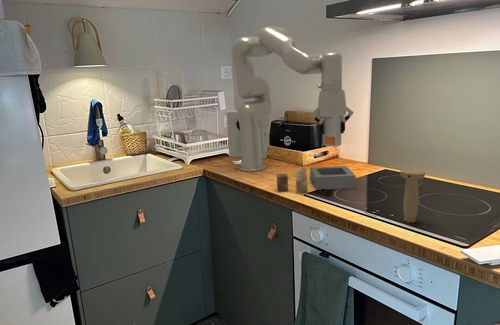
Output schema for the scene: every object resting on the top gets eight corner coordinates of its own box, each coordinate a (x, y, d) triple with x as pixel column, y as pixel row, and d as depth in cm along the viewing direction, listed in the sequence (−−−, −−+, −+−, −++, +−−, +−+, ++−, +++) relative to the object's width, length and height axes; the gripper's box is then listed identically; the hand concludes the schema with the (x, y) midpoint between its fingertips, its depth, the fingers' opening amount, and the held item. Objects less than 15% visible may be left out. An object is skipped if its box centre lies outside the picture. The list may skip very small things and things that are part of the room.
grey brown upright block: (297, 194, 141) (296, 170, 138) (295, 190, 144) (295, 168, 142) (307, 193, 140) (307, 170, 138) (306, 190, 144) (306, 167, 142)
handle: (402, 216, 115) (404, 168, 111) (424, 220, 111) (427, 171, 107) (395, 221, 111) (397, 172, 108) (418, 226, 107) (421, 175, 104)
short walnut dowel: (277, 192, 144) (277, 176, 143) (277, 188, 148) (276, 174, 147) (288, 191, 144) (287, 176, 143) (287, 188, 148) (286, 173, 147)
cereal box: (270, 156, 205) (268, 110, 200) (263, 159, 199) (261, 111, 193) (236, 153, 216) (233, 110, 210) (229, 156, 210) (226, 111, 204)
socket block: (315, 189, 144) (315, 177, 143) (310, 179, 159) (310, 167, 158) (355, 188, 144) (355, 175, 143) (346, 177, 158) (346, 165, 157)
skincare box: (322, 145, 148) (322, 115, 145) (328, 143, 151) (327, 113, 148) (336, 147, 144) (336, 115, 141) (341, 145, 147) (341, 114, 144)
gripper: (309, 88, 139) (310, 136, 143) (357, 85, 139) (357, 133, 143) (307, 87, 146) (308, 133, 150) (352, 85, 146) (352, 130, 150)
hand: (331, 133), depth 146 cm, fingers closed on skincare box, 7 cm apart
